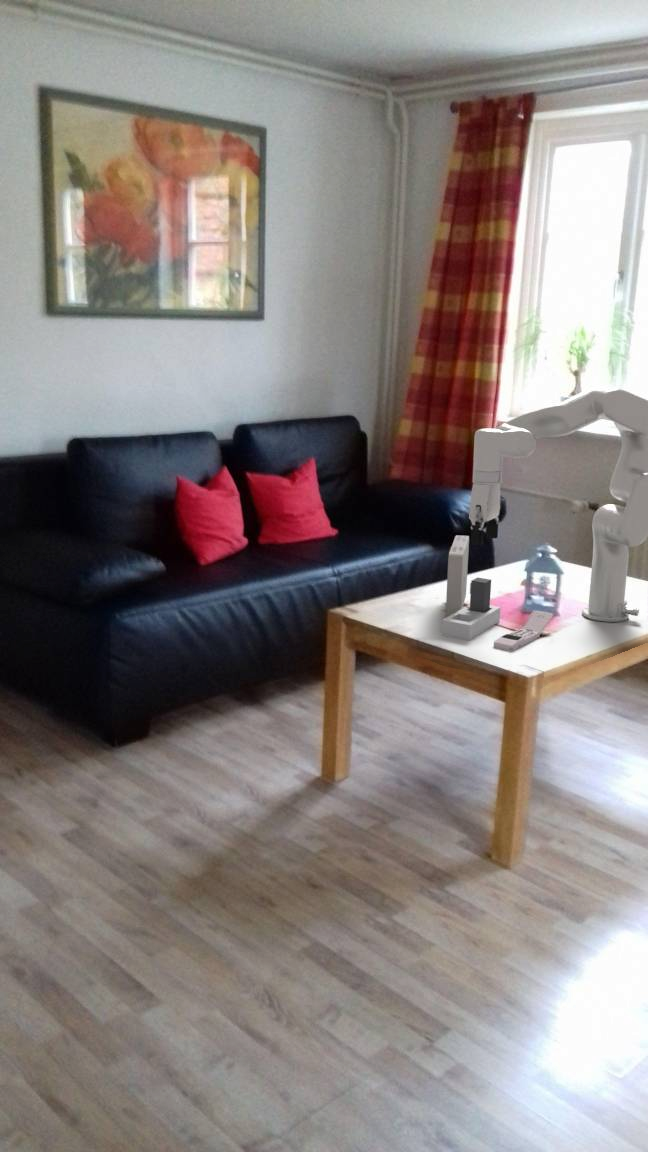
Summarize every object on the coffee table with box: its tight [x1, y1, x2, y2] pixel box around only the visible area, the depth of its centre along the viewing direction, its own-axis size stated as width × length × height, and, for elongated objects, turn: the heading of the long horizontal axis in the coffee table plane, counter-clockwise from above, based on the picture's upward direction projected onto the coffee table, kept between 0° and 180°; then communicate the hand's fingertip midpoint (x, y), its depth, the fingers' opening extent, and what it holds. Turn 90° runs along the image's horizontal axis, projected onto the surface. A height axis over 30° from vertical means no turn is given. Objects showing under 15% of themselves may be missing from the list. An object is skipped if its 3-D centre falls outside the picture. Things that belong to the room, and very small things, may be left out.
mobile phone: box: [493, 609, 554, 652], centre depth 263 cm, size 6×6×25 cm
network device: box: [441, 535, 470, 618], centre depth 286 cm, size 26×9×20 cm, turn 168°
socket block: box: [440, 603, 502, 641], centre depth 271 cm, size 8×20×5 cm, turn 148°
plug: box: [469, 577, 492, 613], centre depth 274 cm, size 5×4×12 cm
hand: (484, 541), depth 270 cm, fingers open, 9 cm apart
